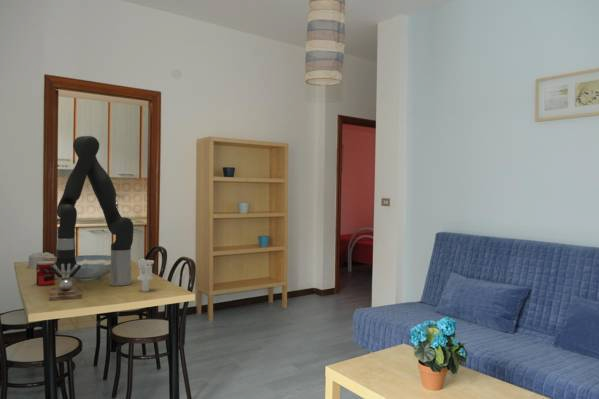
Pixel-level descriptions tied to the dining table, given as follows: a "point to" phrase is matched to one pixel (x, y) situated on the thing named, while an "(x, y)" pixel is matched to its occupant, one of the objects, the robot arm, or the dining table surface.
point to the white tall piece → (145, 273)
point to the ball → (65, 284)
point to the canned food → (45, 273)
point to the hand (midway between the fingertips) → (65, 286)
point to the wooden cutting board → (65, 293)
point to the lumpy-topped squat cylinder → (37, 259)
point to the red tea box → (50, 258)
